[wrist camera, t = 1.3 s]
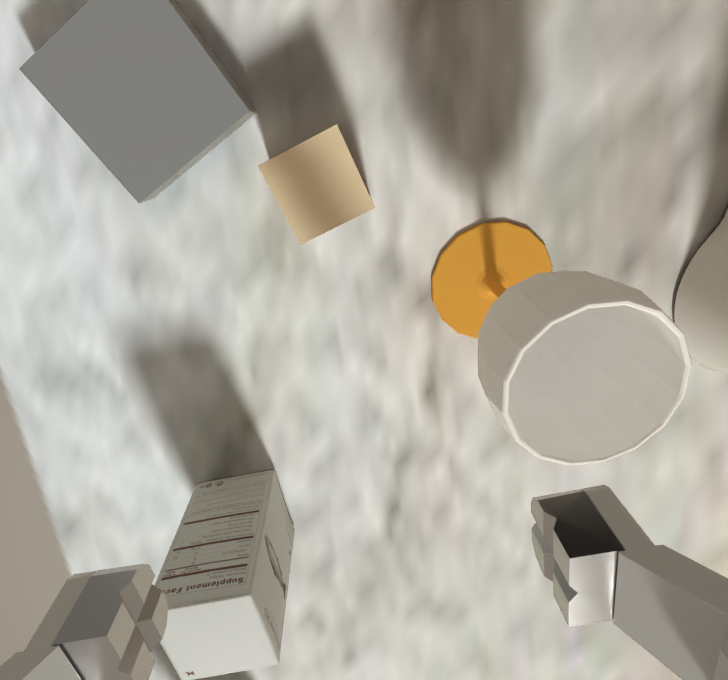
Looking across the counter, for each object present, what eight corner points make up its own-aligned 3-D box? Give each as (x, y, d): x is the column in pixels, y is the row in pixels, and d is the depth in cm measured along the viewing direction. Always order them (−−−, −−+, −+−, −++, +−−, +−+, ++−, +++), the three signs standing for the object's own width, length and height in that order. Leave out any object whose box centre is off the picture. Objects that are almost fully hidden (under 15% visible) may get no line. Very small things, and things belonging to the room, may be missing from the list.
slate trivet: (155, -29, 28) (134, -46, 25) (257, 112, 31) (249, 111, 28) (49, 74, 29) (19, 68, 27) (156, 197, 33) (139, 203, 30)
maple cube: (337, 124, 31) (336, 124, 26) (370, 196, 33) (374, 207, 28) (269, 160, 32) (257, 165, 27) (305, 228, 34) (300, 244, 29)
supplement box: (296, 528, 45) (281, 668, 33) (219, 542, 45) (177, 685, 33) (276, 466, 42) (252, 595, 30) (194, 480, 42) (138, 615, 30)
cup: (543, 204, 33) (701, 263, 19) (558, 320, 37) (700, 444, 22) (418, 241, 34) (476, 326, 19) (444, 351, 38) (510, 492, 23)
